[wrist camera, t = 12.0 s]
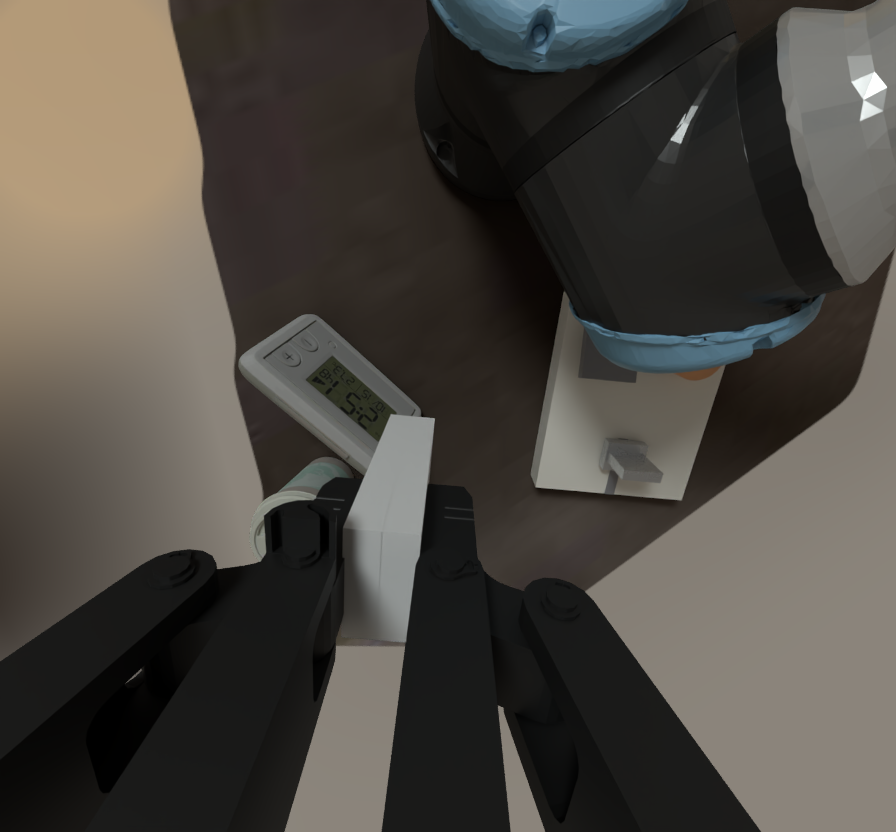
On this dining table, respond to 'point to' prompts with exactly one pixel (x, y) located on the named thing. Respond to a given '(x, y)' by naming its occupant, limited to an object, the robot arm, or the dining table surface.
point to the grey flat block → (601, 365)
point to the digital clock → (326, 387)
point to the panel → (616, 422)
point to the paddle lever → (629, 460)
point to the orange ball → (698, 374)
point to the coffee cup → (296, 495)
